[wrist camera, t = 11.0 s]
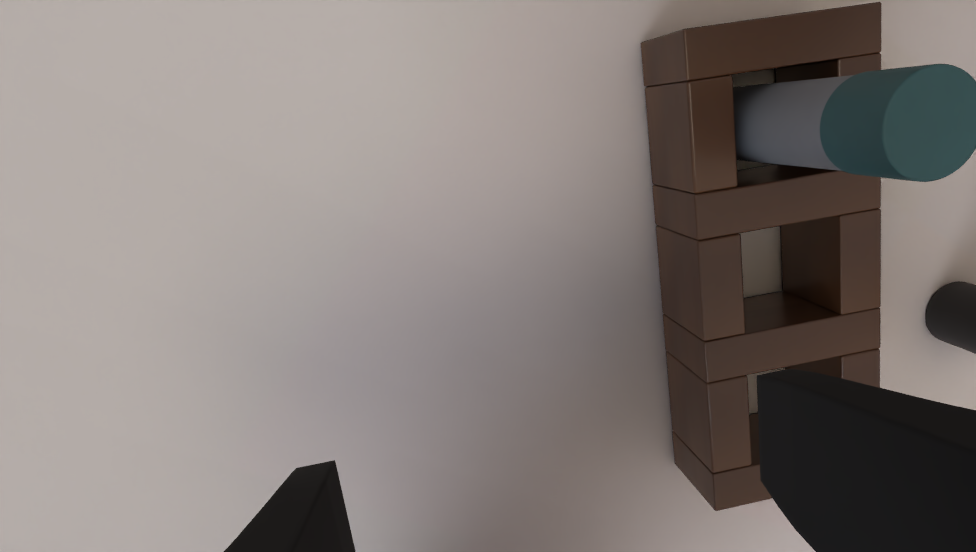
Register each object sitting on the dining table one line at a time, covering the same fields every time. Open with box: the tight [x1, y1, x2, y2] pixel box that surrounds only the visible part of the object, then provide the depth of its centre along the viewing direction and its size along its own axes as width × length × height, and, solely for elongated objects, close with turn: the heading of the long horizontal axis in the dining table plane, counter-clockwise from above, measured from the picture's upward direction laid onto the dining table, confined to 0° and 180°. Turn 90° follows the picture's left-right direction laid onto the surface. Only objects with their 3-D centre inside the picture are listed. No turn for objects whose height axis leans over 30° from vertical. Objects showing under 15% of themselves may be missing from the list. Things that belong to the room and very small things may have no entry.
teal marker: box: [733, 64, 976, 182], centre depth 17 cm, size 2×2×8 cm
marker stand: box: [641, 2, 881, 511], centre depth 21 cm, size 14×6×3 cm, turn 8°
